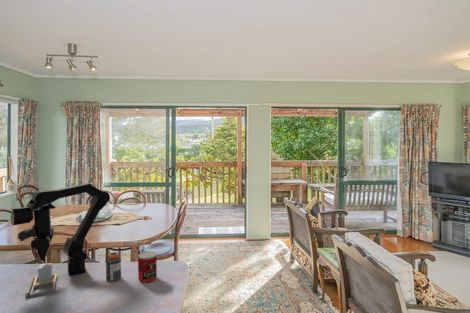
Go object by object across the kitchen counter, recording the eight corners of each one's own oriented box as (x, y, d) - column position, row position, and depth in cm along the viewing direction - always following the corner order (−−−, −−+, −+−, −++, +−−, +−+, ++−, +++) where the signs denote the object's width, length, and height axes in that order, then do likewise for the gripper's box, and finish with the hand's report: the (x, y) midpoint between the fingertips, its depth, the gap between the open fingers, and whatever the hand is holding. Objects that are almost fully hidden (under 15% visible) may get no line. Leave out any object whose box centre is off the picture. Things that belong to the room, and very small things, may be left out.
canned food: (142, 285, 120) (142, 259, 120) (135, 278, 126) (134, 253, 126) (159, 279, 125) (159, 254, 125) (151, 273, 131) (151, 249, 131)
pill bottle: (106, 277, 127) (105, 252, 127) (120, 275, 130) (120, 250, 129) (106, 283, 122) (105, 257, 121) (121, 280, 124) (120, 254, 124)
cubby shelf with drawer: (56, 276, 129) (56, 272, 129) (53, 292, 114) (53, 287, 114) (31, 280, 124) (31, 276, 124) (25, 298, 110) (25, 293, 110)
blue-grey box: (52, 278, 126) (51, 261, 126) (51, 282, 123) (50, 265, 122) (39, 280, 124) (39, 263, 124) (38, 285, 120) (37, 267, 120)
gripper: (23, 217, 127) (25, 252, 128) (13, 228, 110) (15, 268, 111) (53, 214, 132) (54, 248, 133) (48, 224, 115) (49, 263, 116)
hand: (43, 256), depth 123 cm, fingers open, 9 cm apart
